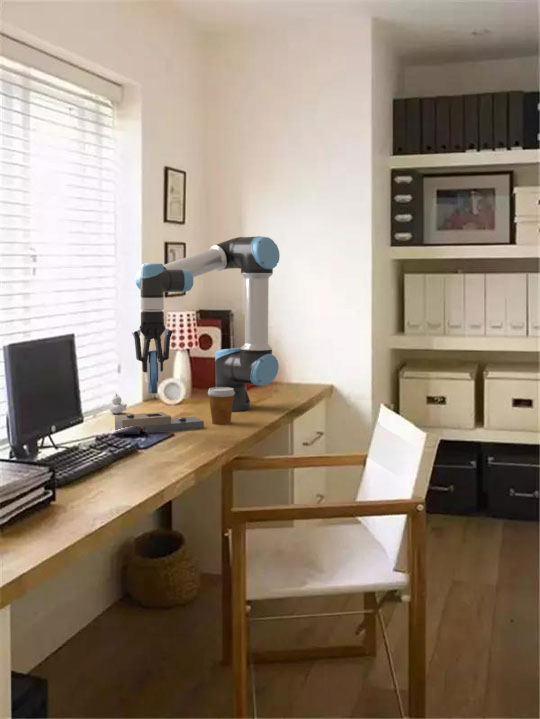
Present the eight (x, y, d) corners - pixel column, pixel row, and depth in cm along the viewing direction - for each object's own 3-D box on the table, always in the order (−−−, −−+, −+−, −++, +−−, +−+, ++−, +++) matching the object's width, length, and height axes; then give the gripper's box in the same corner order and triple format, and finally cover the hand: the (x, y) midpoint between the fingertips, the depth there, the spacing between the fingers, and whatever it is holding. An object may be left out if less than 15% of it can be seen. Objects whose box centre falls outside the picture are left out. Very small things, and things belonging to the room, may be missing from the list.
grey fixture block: (194, 423, 301) (194, 407, 300) (203, 428, 293) (203, 411, 292) (115, 430, 289) (114, 413, 289) (122, 435, 281) (122, 417, 280)
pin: (155, 391, 291) (155, 350, 289) (158, 393, 288) (158, 350, 287) (147, 392, 289) (146, 350, 288) (150, 393, 287) (149, 351, 285)
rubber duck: (112, 412, 325) (112, 390, 324) (129, 412, 324) (129, 391, 323) (107, 414, 320) (106, 393, 319) (124, 415, 318) (123, 393, 317)
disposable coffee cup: (239, 421, 306) (239, 387, 304) (229, 426, 297) (228, 391, 295) (214, 420, 309) (213, 386, 307) (203, 424, 300) (203, 390, 298)
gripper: (171, 309, 293) (172, 379, 295) (125, 310, 286) (126, 381, 288) (179, 310, 286) (179, 381, 288) (131, 311, 279) (132, 384, 282)
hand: (152, 381), depth 288 cm, fingers closed on pin, 3 cm apart
